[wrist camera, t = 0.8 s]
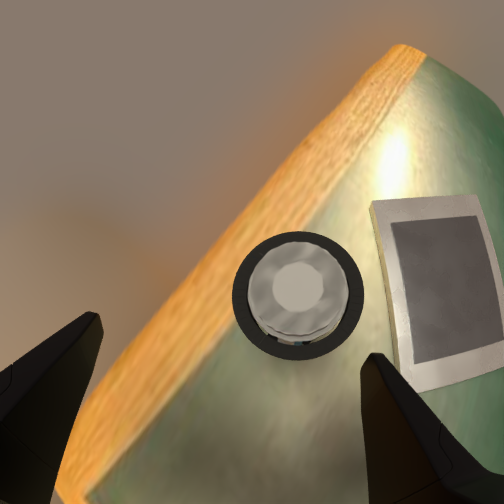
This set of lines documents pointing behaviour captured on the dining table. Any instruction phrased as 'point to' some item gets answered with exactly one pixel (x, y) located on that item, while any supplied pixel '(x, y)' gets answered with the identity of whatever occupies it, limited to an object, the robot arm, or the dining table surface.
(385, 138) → the dining table surface
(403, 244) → the mounting plate
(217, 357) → the dining table surface
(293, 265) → the push button
